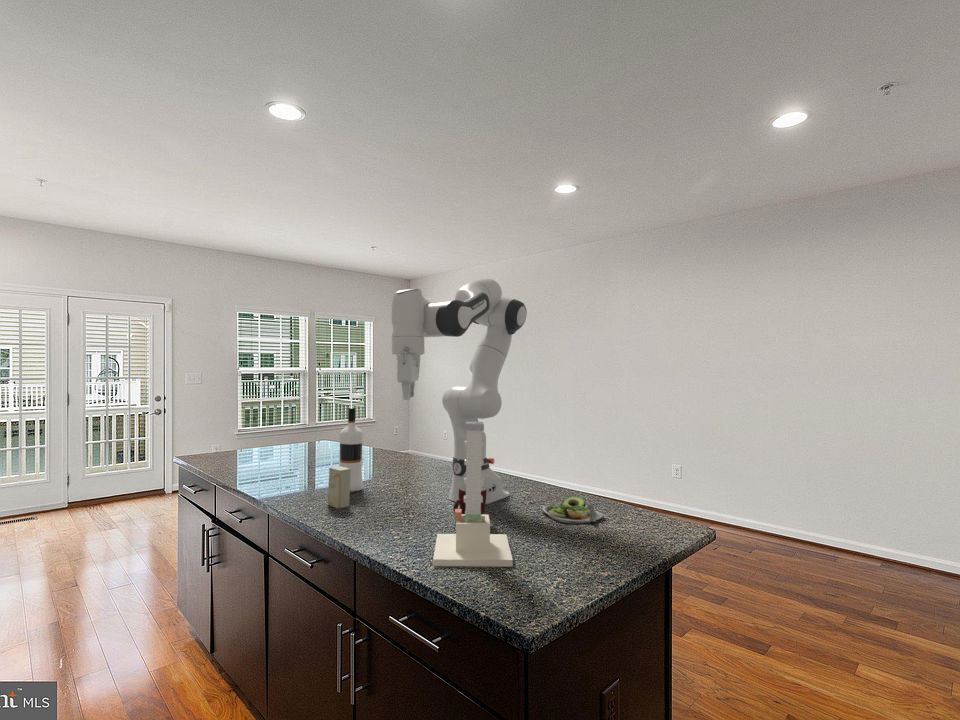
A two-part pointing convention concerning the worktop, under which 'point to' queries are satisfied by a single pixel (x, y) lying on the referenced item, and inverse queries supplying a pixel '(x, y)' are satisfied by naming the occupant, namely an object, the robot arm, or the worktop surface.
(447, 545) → the stand
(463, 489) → the mug
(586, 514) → the salad plate
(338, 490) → the skincare box
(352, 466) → the vodka
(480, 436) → the column
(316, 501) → the worktop surface
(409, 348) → the robot arm
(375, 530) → the worktop surface
